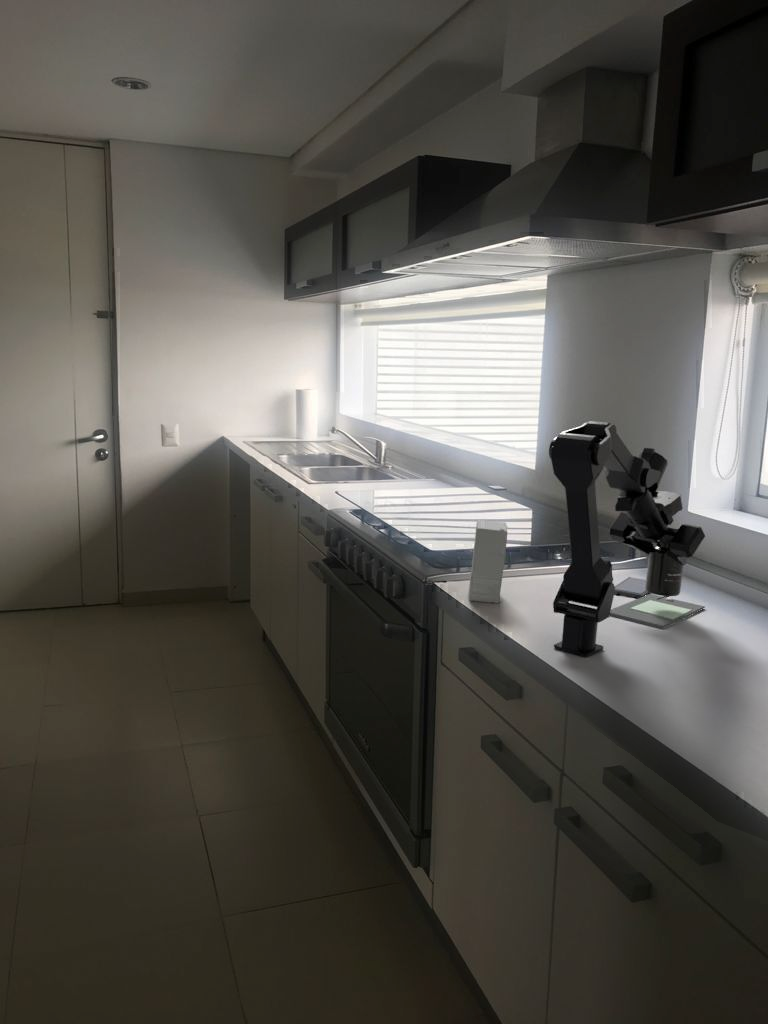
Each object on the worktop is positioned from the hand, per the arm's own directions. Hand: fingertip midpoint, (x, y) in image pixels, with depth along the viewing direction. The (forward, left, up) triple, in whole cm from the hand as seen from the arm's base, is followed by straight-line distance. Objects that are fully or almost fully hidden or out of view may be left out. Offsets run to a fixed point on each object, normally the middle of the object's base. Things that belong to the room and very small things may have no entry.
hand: (669, 559), depth 173 cm
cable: (+7, +9, -11) cm, 16 cm away
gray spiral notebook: (-1, +1, -11) cm, 11 cm away
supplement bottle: (-1, 0, -7) cm, 7 cm away
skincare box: (-20, +30, -11) cm, 38 cm away
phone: (+12, +12, -11) cm, 20 cm away
